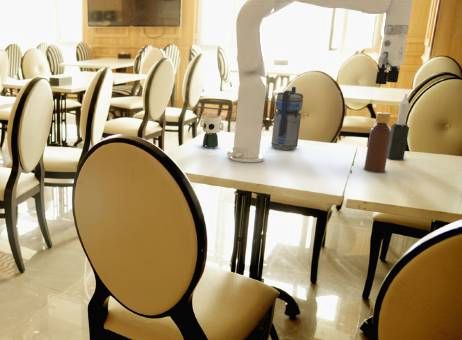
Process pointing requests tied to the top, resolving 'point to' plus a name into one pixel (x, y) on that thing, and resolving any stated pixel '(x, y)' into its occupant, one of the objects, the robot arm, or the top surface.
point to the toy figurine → (211, 130)
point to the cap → (383, 117)
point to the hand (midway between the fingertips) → (386, 83)
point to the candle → (399, 133)
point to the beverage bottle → (287, 120)
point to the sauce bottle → (378, 148)
